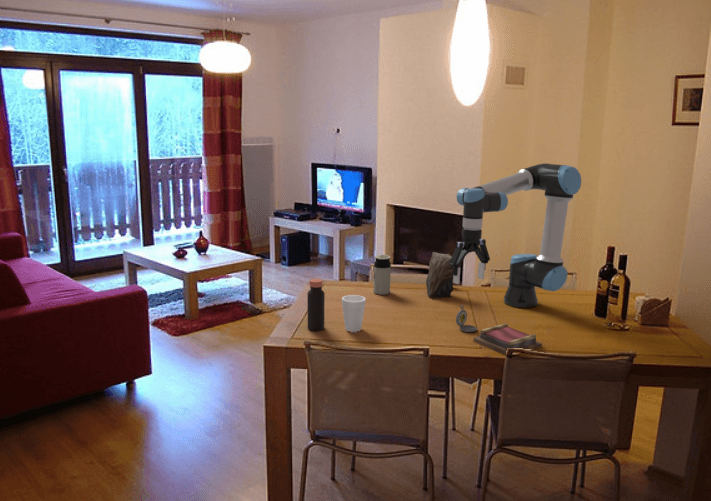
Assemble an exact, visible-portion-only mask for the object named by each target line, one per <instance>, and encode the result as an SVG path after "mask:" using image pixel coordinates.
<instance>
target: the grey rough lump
mask: <svg viewBox="0 0 711 501" xmlns="http://www.w3.org/2000/svg"><path fill="white" fill-rule="evenodd" d="M451 258H452V255H451V254H450V253H446V254H445V253H439V252H435V251H432V253H431V258H430V260H429V264H428V265H429V266H428V273H427V278H426V279H425V280H426V282H425V283H426V284H425V285H426V293H427V297H428V299H430V300H431V299H444V298H447V297H448V298H452V293H453V292H454V283H453V276H454V275H453V267H452V266H450V265H449V263H450V260H451Z"/></svg>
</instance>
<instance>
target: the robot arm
mask: <svg viewBox="0 0 711 501" xmlns="http://www.w3.org/2000/svg"><path fill="white" fill-rule="evenodd" d="M581 187H582V175H581V173H580V172H579V170H578V168H576V167H575V166H570V165H566V164H565V165H564V164H553V163H546V162H545V163H539V164H535V165H531V166H528V167H526V168H522V169H519V170H518V171H517V173H515V174H511V175H508V176H505V177H501V178H498V179H496V180H493V181H490V182H487V183H484V184H481V185H478V186H474V187H472V188H469V187H462V188H460V189H459V190H458V191H457V193H456V202H457V203H458V205H460V206H463V210H462V212H463V213H462V229H461V230H462V231H461V237H462V241H456V244H455V248H454V251H453V254H452V255H451V256H452V258H451V260H450V263H449V265H450V266H452V267H453V275H454V276H453V284H456V285H460V277H461V276H460V275H461V267H460V266H461V264H462V263H463V261H464V259H465V258H466V256H467V255H468V254H469V253H472V252H473V253H475V255H476V257H477V259H478V260H479V262H478V269H477V279H480V280H485V271H486V264H488V263H489V262H490V260H491V257H490V255H489V252H488V251H489V250H488V248H487V244H486V241H487V240H486V239H485V238H482V231H483V230H482V228H483V220H484V219H483V216H484V213H493V212H496V213H497V212H502V211H504V210H506V209H507V207H508V204H509V200H508V198H509V197H508V196H509V195H511V194H514V193H517V192H521V191H525V192H526V191H531V190H539V191H540V190H541V191H544V197H545V199H546V200H547V201H546V208H545V215H544V221H543V222H544V223H543V230H542V237H541V244H540V252H539V253H538V255H537V254H535V253H534V254H533V253H519V254H518V253H517V254H514V255H512V256H511V258H510V264H509V276H508V277H509V279H508V286H507V289H506V291H505V294H504V296H503V303H504V302H505V303H506V304H505V303H504V304H505V305H507V304H508V305H507V306H509V305H511V306H510V307H513V306H515V307H514V308H518V307H533V306H536V305H537V306H538V298H537V297H538V296H537V292H536V288H539V289H542V290H545V291H549V292H556V291H559V290H560V289H562V287H563V286H564V285H565V283H566V281H567V278H568V271H567V268H566V267H564V260H563V258H562V257H561V255H562V249H563V242H564V235H565V227H566V221H567V214H568V208H569V202H570V201H572V200H573V199H574V195H575V194H577V193H579V191H580V189H581ZM537 306H536V307H537ZM533 308H534V307H533Z"/></svg>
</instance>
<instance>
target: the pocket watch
mask: <svg viewBox="0 0 711 501" xmlns="http://www.w3.org/2000/svg"><path fill="white" fill-rule="evenodd" d="M459 308H460V310H459V311H458V312H457V314H456V315H455V316H456V317H455V323H456V325H457V326H459V330H460V331H462V332H466V333H473V332H476V331H477V326H474V325H471V324H465V323H466V321H467V317H468V315H467V311H466V310H464V308H465V305H464V304H463V303H462V304H460V305H459Z"/></svg>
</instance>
